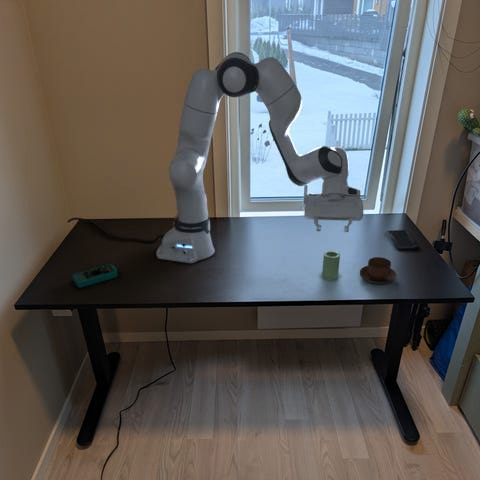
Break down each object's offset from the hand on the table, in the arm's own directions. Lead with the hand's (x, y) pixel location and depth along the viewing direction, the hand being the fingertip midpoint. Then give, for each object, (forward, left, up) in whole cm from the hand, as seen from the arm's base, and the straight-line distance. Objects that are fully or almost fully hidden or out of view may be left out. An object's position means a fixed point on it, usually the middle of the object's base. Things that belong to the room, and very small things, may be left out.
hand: (332, 231), depth 160 cm
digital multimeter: (-82, -18, -13) cm, 85 cm away
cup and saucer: (+16, -8, -13) cm, 22 cm away
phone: (+28, +22, -13) cm, 38 cm away
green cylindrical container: (0, -8, -13) cm, 16 cm away
